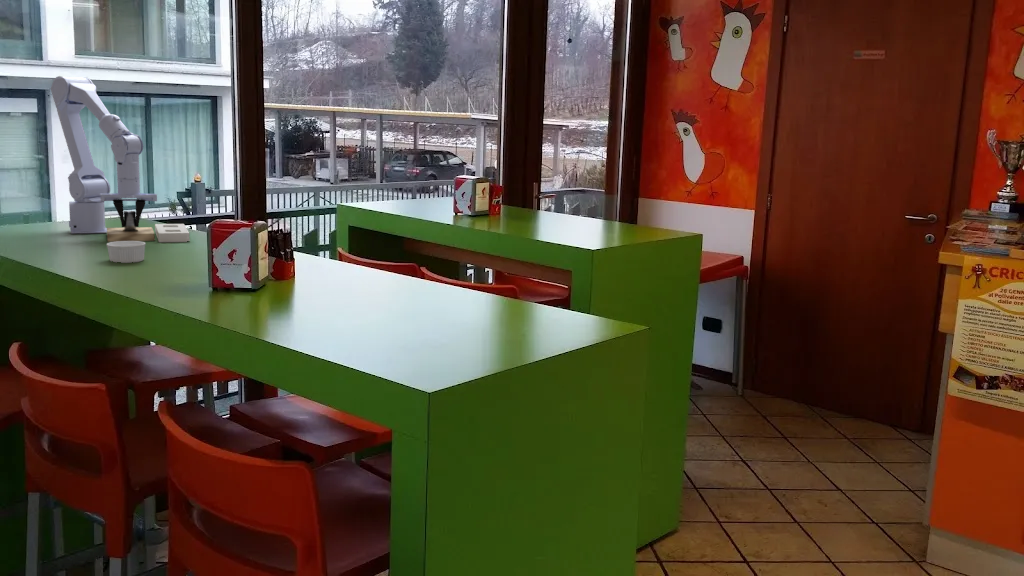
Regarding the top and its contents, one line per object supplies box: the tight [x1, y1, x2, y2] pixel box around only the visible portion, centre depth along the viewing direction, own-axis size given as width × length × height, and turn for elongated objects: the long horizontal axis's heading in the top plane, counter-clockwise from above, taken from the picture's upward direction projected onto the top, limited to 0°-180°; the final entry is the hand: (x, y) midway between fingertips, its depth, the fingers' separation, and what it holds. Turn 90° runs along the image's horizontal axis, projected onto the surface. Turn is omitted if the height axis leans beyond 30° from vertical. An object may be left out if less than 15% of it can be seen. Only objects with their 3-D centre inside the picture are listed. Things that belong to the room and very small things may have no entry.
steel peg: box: [123, 210, 136, 232], centre depth 256 cm, size 3×3×7 cm
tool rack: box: [154, 223, 190, 243], centre depth 261 cm, size 8×18×2 cm, turn 24°
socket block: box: [106, 226, 156, 242], centre depth 257 cm, size 12×12×2 cm
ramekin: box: [106, 241, 146, 264], centre depth 224 cm, size 9×9×4 cm
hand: (130, 226), depth 256 cm, fingers closed on steel peg, 3 cm apart
